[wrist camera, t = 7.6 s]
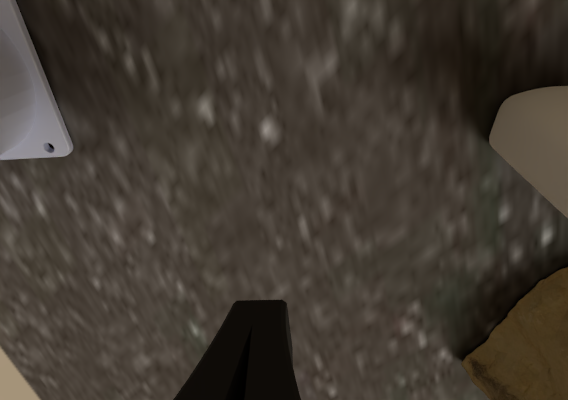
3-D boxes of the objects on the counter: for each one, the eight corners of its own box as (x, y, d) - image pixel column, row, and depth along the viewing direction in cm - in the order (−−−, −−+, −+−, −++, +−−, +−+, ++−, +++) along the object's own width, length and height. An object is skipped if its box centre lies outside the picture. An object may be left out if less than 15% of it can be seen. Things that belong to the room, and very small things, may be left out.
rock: (488, 433, 24) (687, 422, 20) (496, 536, 17) (818, 553, 13) (431, 271, 26) (603, 230, 22) (415, 298, 18) (674, 243, 14)
